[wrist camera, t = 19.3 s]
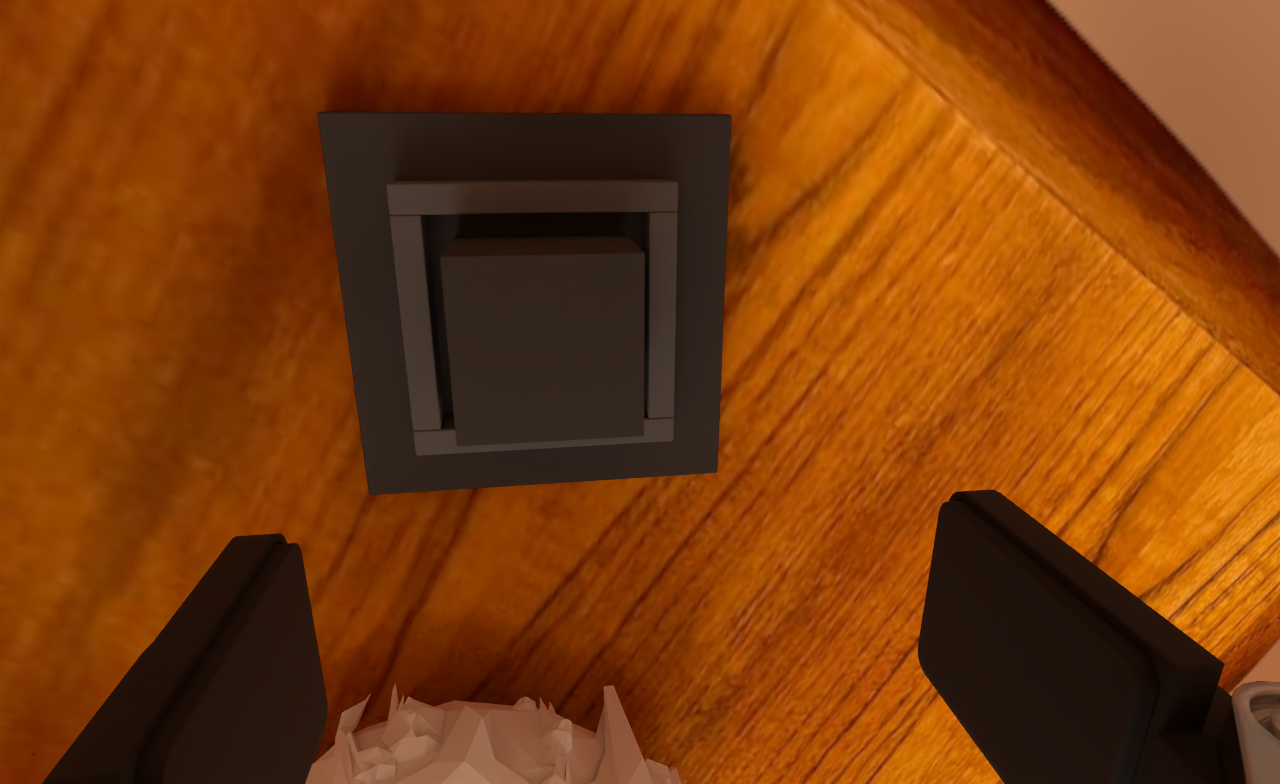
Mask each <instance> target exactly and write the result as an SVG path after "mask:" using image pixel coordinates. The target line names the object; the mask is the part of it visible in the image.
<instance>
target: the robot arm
mask: <svg viewBox="0 0 1280 784" xmlns="http://www.w3.org/2000/svg"><path fill="white" fill-rule="evenodd" d="M918 657H919V661H920V665H921V667H922V670H923V671H924V673H925V675H926V676H927V678H928V679H929V680H930V682H931V683H932V684H933V686H934V687H935V689H936V690H937V691H938V693H939V694H940V695H941V697H942V698H943V700H944V701H945V702H946V704H947V705H948V706H949V708H950V709H951V711H952V712H953V713H954V715H955V716H956V717H957V719H958V720H959V722H960V723H961V724H962V726H963V727H964V728H965V730H966V731H967V733H968V734H969V735H970V737H971V738H972V739H973V741H974V742H975V744H976V745H977V746H978V748H979V749H980V750H981V752H982V753H983V755H984V756H985V757H986V759H987V760H988V761H989V763H990V764H991V766H992V767H993V768H994V770H995V771H996V772H997V774H998V775H999V777H1000V778H1001V779H1002V781H1003V782H1004V783H1005V784H1280V683H1279V682H1266V681H1265V682H1264V681H1256V682H1250V683H1245V684H1242V685H1241V686H1239V687H1238V688H1237V689H1235V690H1234V691H1233V695H1232V696H1231V695H1229V694H1228V693H1227V692H1226V691H1224V690H1223V689H1222V688H1221V687H1219V686H1218V682H1219V679H1220V676H1221V673H1222V670H1223V667H1224V663H1223V662H1221V661H1220V660H1219V659H1218V658H1216V657H1215V656H1214V655H1212V654H1211V653H1210V652H1208V651H1207V650H1206V649H1204V648H1203V647H1202V646H1200V645H1199V644H1198V643H1196V642H1195V641H1194V640H1193V639H1191V638H1190V637H1189V636H1187V635H1186V634H1185V633H1183V632H1182V631H1181V630H1179V629H1178V628H1177V627H1175V626H1174V625H1173V624H1172V623H1170V622H1169V621H1168V620H1166V619H1165V618H1164V617H1162V616H1161V615H1160V614H1158V613H1157V612H1156V611H1154V610H1153V609H1152V608H1151V607H1149V606H1148V605H1147V604H1145V603H1144V602H1143V601H1141V600H1140V599H1139V598H1137V597H1136V596H1135V595H1133V594H1132V593H1131V592H1129V591H1128V590H1127V589H1126V588H1124V587H1123V586H1122V585H1120V584H1119V583H1118V582H1116V581H1115V580H1114V579H1112V578H1111V577H1110V576H1108V575H1107V574H1106V573H1105V572H1103V571H1102V570H1101V569H1099V568H1098V567H1097V566H1095V565H1094V564H1093V563H1091V562H1090V561H1089V560H1087V559H1086V558H1085V557H1084V556H1082V555H1081V554H1080V553H1078V552H1077V551H1076V550H1074V549H1073V548H1072V547H1070V546H1069V545H1068V544H1066V543H1065V542H1064V541H1063V540H1061V539H1060V538H1059V537H1057V536H1056V535H1055V534H1053V533H1052V532H1051V531H1049V530H1048V529H1047V528H1045V527H1044V526H1043V525H1041V524H1040V523H1039V522H1038V521H1036V520H1035V519H1034V518H1032V517H1031V516H1030V515H1028V514H1027V513H1026V512H1024V511H1023V510H1022V509H1020V508H1019V507H1018V506H1017V505H1015V504H1014V503H1013V502H1011V501H1010V500H1009V499H1007V498H1006V497H1005V496H1003V495H1002V494H1001V493H999V492H997V491H995V490H978V491H962V492H956V493H954V494H953V495H952V496H951V498H950V499H949V502H945V503H943V504H942V506H941V507H940V511H939V516H938V523H937V529H936V535H935V542H934V548H933V554H932V561H931V567H930V573H929V580H928V586H927V593H926V599H925V605H924V612H923V618H922V624H921V631H920V637H919V644H918ZM326 721H327V697H326V692H325V686H324V680H323V674H322V668H321V662H320V657H319V651H318V645H317V639H316V633H315V627H314V622H313V616H312V610H311V604H310V598H309V593H308V587H307V581H306V575H305V569H304V563H303V558H302V553H301V549H300V547H299V545H298V544H297V543H290V544H287V541H286V539H285V537H284V536H283V535H282V534H265V535H249V536H236V537H234V538H233V539H232V540H231V541H230V542H229V544H228V545H227V546H226V547H225V549H224V550H223V551H222V553H221V554H220V555H219V557H218V558H217V559H216V561H215V562H214V563H213V564H212V566H211V567H210V568H209V570H208V571H207V572H206V574H205V575H204V576H203V578H202V579H201V580H200V581H199V583H198V584H197V585H196V587H195V588H194V589H193V591H192V592H191V593H190V595H189V596H188V597H187V598H186V600H185V601H184V602H183V604H182V605H181V606H180V608H179V609H178V610H177V612H176V613H175V614H174V615H173V617H172V618H171V619H170V621H169V622H168V623H167V625H166V626H165V627H164V629H163V630H162V631H161V632H160V634H159V635H158V636H157V638H156V639H155V640H154V642H153V643H152V644H151V645H150V646H149V647H148V648H147V649H146V650H145V651H144V652H143V653H142V654H141V656H140V657H139V658H138V659H137V661H136V662H135V663H134V665H133V666H132V667H131V669H130V670H129V671H128V672H127V674H126V675H125V676H124V678H123V679H122V680H121V682H120V683H119V684H118V685H117V687H116V688H115V689H114V691H113V692H112V693H111V695H110V696H109V697H108V698H107V700H106V701H105V702H104V704H103V705H102V706H101V708H100V709H99V710H98V711H97V713H96V714H95V715H94V717H93V718H92V719H91V721H90V722H89V723H88V724H87V726H86V727H85V728H84V730H83V731H82V732H81V734H80V735H79V736H78V737H77V739H76V740H75V741H74V743H73V744H72V745H71V747H70V748H69V749H68V750H67V752H66V753H65V754H64V756H63V757H62V758H61V760H60V761H59V762H58V763H57V765H56V766H55V767H54V769H53V770H52V771H51V773H50V774H49V775H48V776H47V778H46V779H45V780H44V782H43V783H42V784H305V783H306V780H307V777H308V775H309V772H310V769H311V766H312V764H313V761H314V758H315V755H316V752H317V750H318V747H319V744H320V741H321V739H322V736H323V733H324V730H325V726H326Z"/></svg>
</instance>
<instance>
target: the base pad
mask: <svg viewBox="0 0 1280 784" xmlns="http://www.w3.org/2000/svg"><path fill="white" fill-rule="evenodd" d="M318 121H319V128H320V136H321V143H322V151H323V158H324V165H325V173H326V180H327V188H328V195H329V202H330V210H331V217H332V225H333V232H334V239H335V247H336V254H337V262H338V269H339V276H340V284H341V291H342V299H343V306H344V313H345V321H346V328H347V335H348V343H349V350H350V358H351V365H352V372H353V380H354V387H355V395H356V402H357V409H358V417H359V424H360V432H361V439H362V446H363V454H364V461H365V469H366V476H367V483H368V491H369V494H370V495H377V494H393V493H409V492H424V491H440V490H455V489H471V488H486V487H502V486H517V485H533V484H548V483H564V482H579V481H595V480H610V479H626V478H641V477H657V476H673V475H688V474H704V473H716V472H717V469H718V444H719V419H720V393H721V368H722V343H723V318H724V292H725V267H726V242H727V216H728V191H729V166H730V141H731V115H729V114H589V113H436V112H318ZM573 233H624V234H625V235H626V236H627V237H628V238H629V239H630V240H632V241H633V242H634V243H635V244H636V245H637V246H638V247H639V248H640V249H641V250H642V251H643V252H644V253H645V301H644V436H639V437H621V438H603V439H585V440H568V441H550V442H532V443H514V444H496V445H478V446H461V447H458V446H457V445H456V433H455V422H454V411H453V400H452V388H451V377H450V366H449V355H448V343H447V332H446V321H445V309H444V298H443V287H442V276H441V264H440V256H441V255H442V254H443V252H444V251H445V250H446V248H447V247H448V246H449V244H450V243H451V242H452V240H453V239H454V238H455V236H457V235H512V234H573Z"/></svg>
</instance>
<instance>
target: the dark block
mask: <svg viewBox="0 0 1280 784" xmlns="http://www.w3.org/2000/svg"><path fill="white" fill-rule="evenodd" d="M440 264H441V276H442V287H443V298H444V309H445V321H446V332H447V343H448V355H449V366H450V377H451V388H452V400H453V411H454V422H455V433H456V445H457V446H458V447H461V446H478V445H496V444H514V443H532V442H550V441H568V440H585V439H603V438H621V437H639V436H644V301H645V253H644V252H643V251H642V250H641V249H640V248H639V247H638V246H637V245H636V244H635V243H634V242H633V241H632V240H630V239H629V238H628V237H627V236H626V235H625V234H624V233H573V234H512V235H457V236H455V238H454V239H453V240H452V242H451V243H450V244H449V246H448V247H447V248H446V250H445V251H444V252H443V254H442V255H441V256H440Z"/></svg>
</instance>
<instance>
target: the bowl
mask: <svg viewBox="0 0 1280 784" xmlns="http://www.w3.org/2000/svg"><path fill="white" fill-rule="evenodd" d="M370 694H371V693H370ZM370 694H369V696H368V697H367V698H366V699H365V700H364V701H362V702H361V703H359V704H357V705H355V706H353V707H351V708H349V709H347V710H346V711H344V712H342V714H341V718H340V722H339V726H338V729H337V733H336V737H335V745H334V746H333V747H331V748H330V749H329V750H328V751H327V752H326V753H325V754H324V755H323V756H322V757H320V758H319V759H318V760H317V761H316V762H315V763H313V764H312V766H311V769H310V772H309V775H308V777H307V780H306V783H305V784H682V783H681V780H680V777H679V774H678V771H677V768H676V767H670V768H669V770H668V767H667V766H666V765H663V764H660V763H658V762H655V761H652V760H650V759H647V760H646V761H644V758H643V756H642V753H641V751H640V748H639V746H638V744H637V741H636V739H635V736H634V734H633V732H632V729H631V727H630V724H629V722H628V720H627V717H626V715H625V712H624V710H623V708H622V705H621V703H620V700H619V698H618V696H617V693H616V691H615V688H614V686H613V685H610V686H604V707H603V711H602V714H601V718H600V721H599V725H598V728H597V732H593V731H590V730H588V729H585V728H583V727H581V726H578V725H576V724H573V723H572V722H571V721H570V720H568V719H565V718H563V717H561V716H559V715H557V714H556V712H555V710H554V708H553V706H552V704H551V702H550V705H549V709H548V710H547V708H546V706H545V705H544V703H543V701H542V699H541V698H540V710H539V709H537V707H536V702H535V701H534V700H531V699H530V698H528V697H527V696H525V697H523V698H521V699H519V700H518V701H517V702H516V703H515V705H514V706H511V705H500V704H489V703H478V702H467V701H456V700H454V701H451V702H448V703H444V704H441V705H438V706H431V705H428V704H425V703H422V702H420V701H417V700H414V699H412V698H410V697H408V698H407V700H406V702H405V704H404V695H403V697H402V700H401V702H400V704H399V701H398V695H397V689H396V683H395V685H394V687H393V692H392V698H391V704H390V710H389V716H388V721H385V722H381V723H378V724H375V725H371V726H368V727H366V728H364V729H362V730H360V731H358V732H356V733H354V734H353V733H352V732H353V731H354V729H355V728H356V727H357V726H358V723H359V721H360V718H361V716H362V714H363V711H364V709H365V706H366V704H367V701H368V699H369V697H370ZM403 705H404V706H403Z"/></svg>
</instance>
